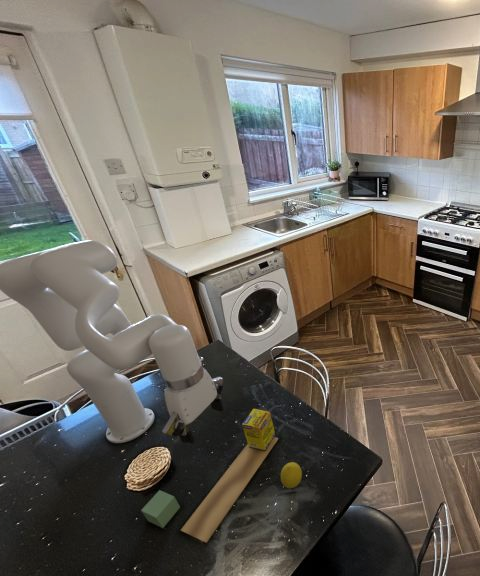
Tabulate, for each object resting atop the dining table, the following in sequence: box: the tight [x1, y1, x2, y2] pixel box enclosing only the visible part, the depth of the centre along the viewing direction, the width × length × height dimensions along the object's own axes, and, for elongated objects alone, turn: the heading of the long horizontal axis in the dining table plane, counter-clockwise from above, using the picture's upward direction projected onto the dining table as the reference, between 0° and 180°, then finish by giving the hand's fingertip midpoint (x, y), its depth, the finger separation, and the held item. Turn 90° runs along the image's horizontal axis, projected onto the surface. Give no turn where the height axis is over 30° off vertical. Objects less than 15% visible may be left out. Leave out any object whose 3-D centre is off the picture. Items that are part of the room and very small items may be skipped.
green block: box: [140, 489, 181, 529], centre depth 78 cm, size 5×5×5 cm
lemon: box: [280, 461, 303, 489], centre depth 84 cm, size 6×6×8 cm
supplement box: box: [241, 408, 276, 451], centre depth 94 cm, size 6×6×11 cm
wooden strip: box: [180, 436, 280, 544], centre depth 87 cm, size 8×29×1 cm, turn 162°
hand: (204, 424), depth 79 cm, fingers open, 9 cm apart
